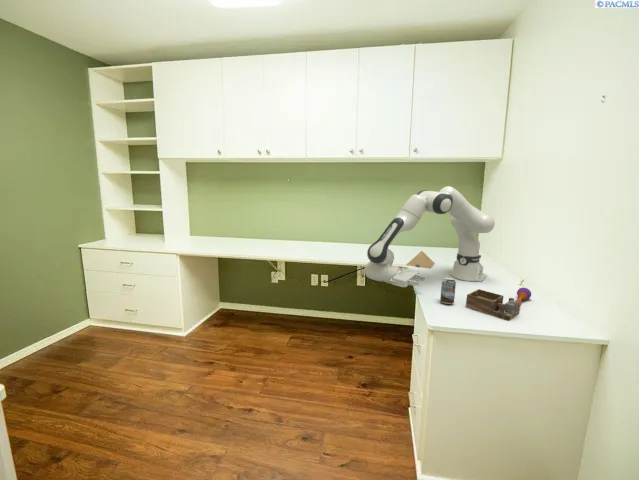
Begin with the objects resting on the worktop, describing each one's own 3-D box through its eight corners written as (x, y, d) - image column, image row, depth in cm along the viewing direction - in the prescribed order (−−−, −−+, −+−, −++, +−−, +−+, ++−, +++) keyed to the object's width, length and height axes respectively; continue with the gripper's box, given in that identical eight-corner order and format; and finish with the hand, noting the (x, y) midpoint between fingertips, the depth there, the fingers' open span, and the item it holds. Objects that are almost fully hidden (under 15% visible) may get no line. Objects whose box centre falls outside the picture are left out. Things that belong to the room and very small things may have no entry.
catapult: (477, 301, 152) (478, 289, 151) (519, 313, 138) (521, 300, 137) (465, 307, 144) (467, 294, 143) (508, 320, 131) (510, 307, 130)
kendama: (507, 298, 145) (518, 285, 159) (508, 311, 146) (519, 296, 160) (522, 300, 141) (532, 286, 155) (523, 312, 142) (533, 298, 156)
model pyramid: (405, 265, 213) (406, 251, 212) (411, 260, 228) (412, 247, 226) (430, 269, 205) (431, 254, 203) (435, 263, 220) (436, 250, 218)
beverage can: (441, 305, 146) (444, 280, 143) (438, 299, 153) (440, 275, 151) (455, 306, 145) (458, 281, 142) (451, 300, 152) (454, 276, 150)
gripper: (387, 274, 152) (415, 280, 145) (402, 265, 169) (428, 270, 161) (386, 286, 153) (414, 293, 146) (401, 277, 170) (427, 282, 162)
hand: (422, 281), depth 154 cm, fingers open, 8 cm apart
